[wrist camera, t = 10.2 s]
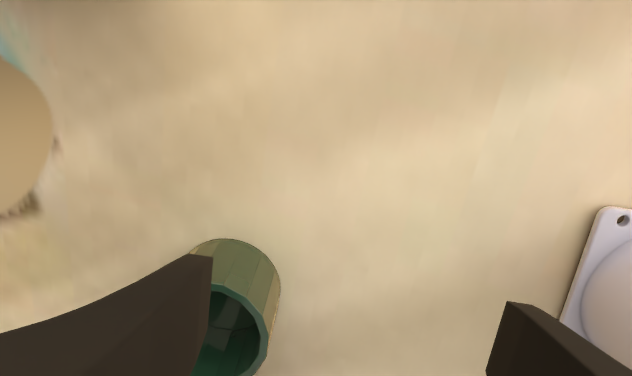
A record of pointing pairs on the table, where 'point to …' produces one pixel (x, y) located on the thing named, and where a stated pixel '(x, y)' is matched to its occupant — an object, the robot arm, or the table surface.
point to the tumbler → (237, 309)
